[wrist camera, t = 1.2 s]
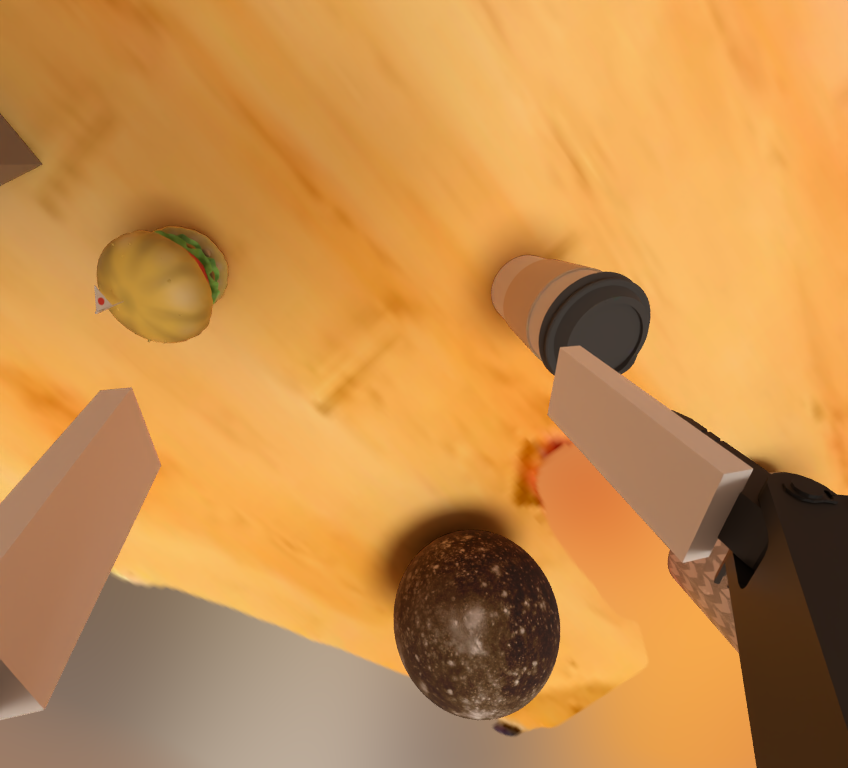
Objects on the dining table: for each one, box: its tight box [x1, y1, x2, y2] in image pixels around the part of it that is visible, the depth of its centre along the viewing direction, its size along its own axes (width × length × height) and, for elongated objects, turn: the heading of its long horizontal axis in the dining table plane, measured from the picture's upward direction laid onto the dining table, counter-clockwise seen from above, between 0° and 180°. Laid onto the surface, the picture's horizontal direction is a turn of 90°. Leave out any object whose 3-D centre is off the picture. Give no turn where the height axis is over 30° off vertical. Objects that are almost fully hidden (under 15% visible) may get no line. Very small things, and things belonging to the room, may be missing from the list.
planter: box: [668, 472, 780, 653], centre depth 61 cm, size 25×25×24 cm
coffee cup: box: [491, 255, 650, 375], centre depth 37 cm, size 9×9×15 cm
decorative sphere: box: [394, 530, 560, 720], centre depth 51 cm, size 20×20×20 cm
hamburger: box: [94, 226, 228, 343], centre depth 30 cm, size 8×7×12 cm
